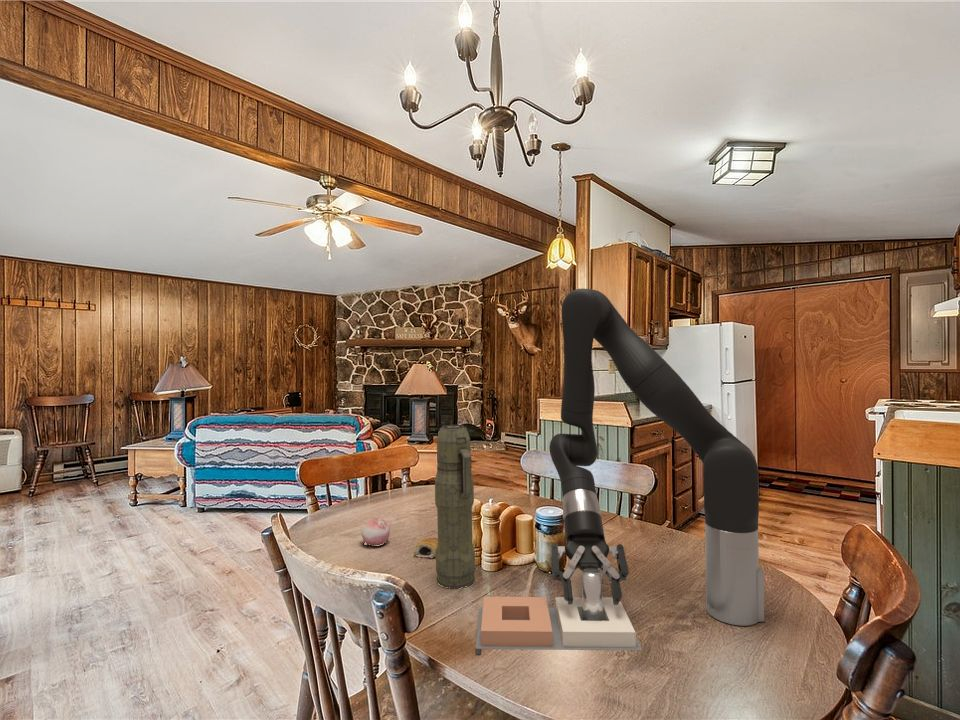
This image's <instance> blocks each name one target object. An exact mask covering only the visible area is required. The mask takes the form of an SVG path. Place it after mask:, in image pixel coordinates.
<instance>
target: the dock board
mask: <svg viewBox="0 0 960 720" xmlns="http://www.w3.org/2000/svg"><path fill="white" fill-rule="evenodd" d="M602 597H603V621H583V611H582V596H579V597H578V596H573V603H572V604H568V601H565V599H564V596H555V607H549V605H548V600H547V596H483V599H482V600H483V601H482V606H479V609H478V617H477V618H478V619H477V629H476V630H477V631H476V641H475V655H482V650H547V651H548V650H549V651H551V650H553V651H555V650H556V651H558V650H560V651H562V650H563V651H565V650H566V651H635V652H636V651H643V648H642V646H641V644H640V642H639V639H638V637H637V635H636V634H637V633H636V631H635V629H634V628H635V627H633V626H634V625H633V624H632V621H631V619H630V618H629V616H628V614H627V612H626V610H625V608H624V606H623V603H622V602H621V600H620V601H619V603H618V605H614V604H613V598H612V596H611V597H606V596H605V597H604V596H602Z"/></svg>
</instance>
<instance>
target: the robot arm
mask: <svg viewBox="0 0 960 720" xmlns="http://www.w3.org/2000/svg"><path fill="white" fill-rule="evenodd" d="M562 301H563V302H562V304H561V310H560V311H561V324H562V326H561V327H562V335H563V339H562V340H563V383H562V395H561V405H560V406H561V407H560V419H561V421H562V422H563V423H564V424H567V425H569V426H573V427H575V428H579V429H580V431H581V434H577V433H575V434H574V433H557V434H555V435H554V436H552V438H551V440H550V442H549V455H550V458H551V460H552V463H553V465H554V468H555V470H556V471H557V474H558V477H559V481H560V487H561V494H562V520H563V524H564V535H565V542H566V543H565V545H564V546H558V544H556V543H552V544H551V545H550V560H551V561H550V562H551V563H550V564H551V578H552V580H554V581H558V582H559V581H560V582H561V583H562V589H563V591H562V592H563V597H564V599H565V601H568V604H572V603H573V597H574V596H573V585H572V579H571V578H572V576H573V575H574V573H575V572H576V570H577V569H579V570H580V571H582V570H584V569H587V568H594V569H598V570H600V571H601V572H602V575H604V576H605V577H607V579H608V580H609V581H610V591H611V597H612V598H613V604H614V605H618V603H619V601H621V600H622V597H623V594H622V588H621V587H622V586H621V582H622V581H623V582H624V581H626V580H627V579H628V576H629V573H630V572H629V567H628V561H627V559H626V558H627V557H626V553H625V548H624V545H623V544H622V543H617V545H615V546H612V545H610V546H609V545H608V544H607V542H606V537H605V532H604V526H603V519H602V511H601V505H600V503H599V500H598V496H597V490H596V489H597V488H596V484H595V478H594V475H593V472H592V471H590V470H589V469H587V468H584V467H590V466H592V465H593V464H594V463H595V462H596V461H597V458H598V455H599V453H598V446H597V440H596V435H595V430H594V422H593V419H594V418H593V416H594V415H593V414H594V404H595V391H596V390H595V388H596V387H595V377H594V369H593V343H594V340H595V341H596V342H597V343H599V345H600V346H601V347H602V348H603V349H604V350H605V351H606V353H607V354H608V355H609V356H610V358H611V360H612V362H613V364H614V366H615V367H616V370H617V371H618V373H619V375H620V377H621V379H622V380H623V382H624V383H625V385H626V387H628V388H629V390H630V391H631V392H632V393H633V394H634V395H635V397H636V398H637V399H638V400H639V401H640V402H641V404H642V405H643V406H645V408H646V409H648V410H649V411H650V412H651V413H652V414H653V415H654V416H656V417H657V418H658V419H659V420H661V421H662V422H663V423H664V424H666V425H667V426H668V427H670V428H671V429H673V430H674V431H675V432H676V433H678V434H679V435H680V436H681V438H683V439H684V441H686V443H687V444H688V445H689V446H690V447H691V449H692V450H693V452H694V453H695V454H696V455H697V456H698V458H699V459H700V461H701V463H702V465H703V470H702V472H703V475H702V476H703V510H704V543H705V544H704V545H705V546H704V548H705V550H704V551H705V552H704V553H705V564H704V565H705V608H706V611H707V614H708V615H710V616H712V618H714V619H716V620H717V621H720V622H722V623H726V624H729V625H733V626H742V627H743V626H744V627H745V626H753V625H755V624H757V623H758V622H765V581H764V580H765V574H764V570H763V569H762V568H761V567H760V566H759V565H760V563H759V562H760V561H759V560H760V559H759V556H760V555H759V551H760V550H759V516H760V513H759V512H760V507H759V506H760V505H759V502H760V501H759V500H760V497H759V494H760V493H759V492H760V491H759V490H760V489H759V488H760V487H759V486H760V485H759V483H760V482H759V479H760V477H759V466H758V463H757V459H756V457H755V454H754V453H753V451H752V450H751V449H750V447H748V446H747V445H746V444H745V443H743V442H742V441H741V440H740V439H738V438H737V437H736V436H735V435H734V434H733V433H732V432H730V431H729V429H727V428H726V427H725V426H724V425H722V424H721V422H719V421H718V420H717V419H716V418H715V417H714V416H713V415H712V414H711V413H710V412H709V410H708V409H707V408H706V407H705V406H704V405H703V403H702V401H701V400H700V399H699V397H697V395H696V394H695V392H694V391H693V390H692V389H691V388H690V387H689V385H688V384H687V383H686V382H685V380H684V379H683V378H682V377H681V376H680V375H679V373H677V372H676V371H675V370H674V369H673V367H672V366H671V365H669V363H667V361H666V360H665V359H664V358H663V357H662V356H661V355H660V354H659V353H658V352H657V351H655V349H653V347H652V346H651V345H650V344H649V343H648V342H646V340H644V339H643V338H641V336H639V335H638V334H637V333H636V332H635V331H634V330H633V329H632V328H631V326H630V325H629V324H628V323H627V321H626V320H625V319H624V318H623V317H622V315H621V314H620V313H619V311H618V310H617V308H615V307H616V306H614V304H613V303H612V302H611V300H610V299H609V298H608V296H606V295H605V293H603V292H601V291H599V290H596V289H591V288H577V289H574V290H572V291H570V292H569V293H567V295H566V296H565V297H564V299H563V300H562ZM563 554H565V556H566V557H567V558H568V559H569V560H570V561H569V563H568V565H567V567H566V569H565V570H564V571H561V570H560V561H559V559H562V556H563ZM609 554H611V555H612V558H613V559H614V560H615V559H616V564H617V569H618V571H617V570H616V568H614V567H613V565H612V563H611V561H609V559H608V558H607V557H608V556H609Z"/></svg>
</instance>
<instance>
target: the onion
mask: <svg viewBox="0 0 960 720" xmlns="http://www.w3.org/2000/svg"><path fill="white" fill-rule="evenodd" d="M390 531H391V528H390V524H389V523H388V521H386V520H384V519H383V518H381V517H376V518H373V519H370V520H368V521H367V522H366V523H365V524H364V525H363V527H362V529H361V538H362V539H363V541H364V543H365V542H366V543H367V544H370V545H380V544H383V543H385V542H386V541H387V542H388V541H389V538H390V534H391V532H390ZM387 542H386V543H387ZM386 543H385V544H386ZM370 545H369V546H370ZM383 545H384V544H383Z"/></svg>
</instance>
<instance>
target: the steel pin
mask: <svg viewBox="0 0 960 720" xmlns="http://www.w3.org/2000/svg"><path fill="white" fill-rule="evenodd" d="M581 593H582V594H581V597H582V611H583V621H603V597H604V596H603V573H602V572H601V571H600V569H594V568H587V569H584V570H581Z"/></svg>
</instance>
